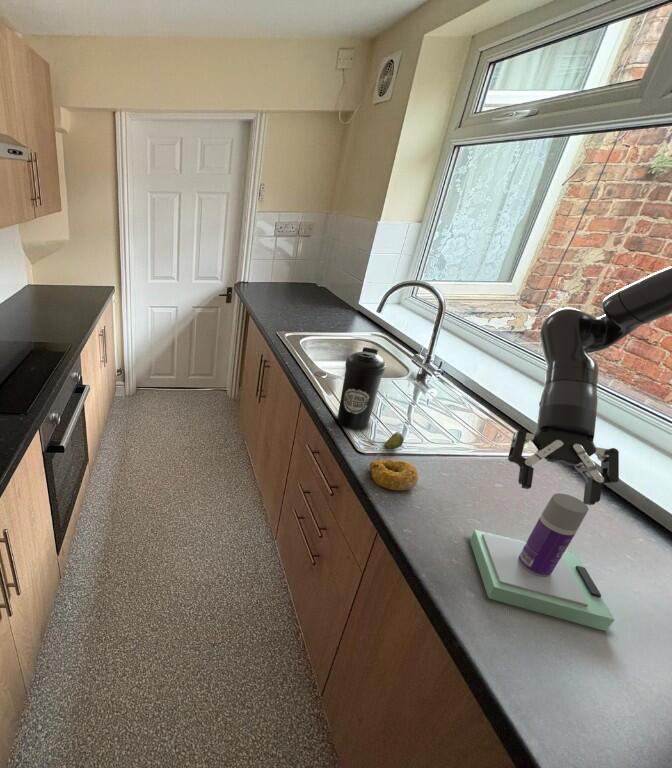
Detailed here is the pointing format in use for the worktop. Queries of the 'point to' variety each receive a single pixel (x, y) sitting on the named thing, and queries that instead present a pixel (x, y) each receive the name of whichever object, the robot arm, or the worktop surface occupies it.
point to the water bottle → (360, 388)
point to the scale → (539, 583)
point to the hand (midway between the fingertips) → (557, 496)
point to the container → (552, 534)
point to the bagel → (394, 474)
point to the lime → (395, 441)
